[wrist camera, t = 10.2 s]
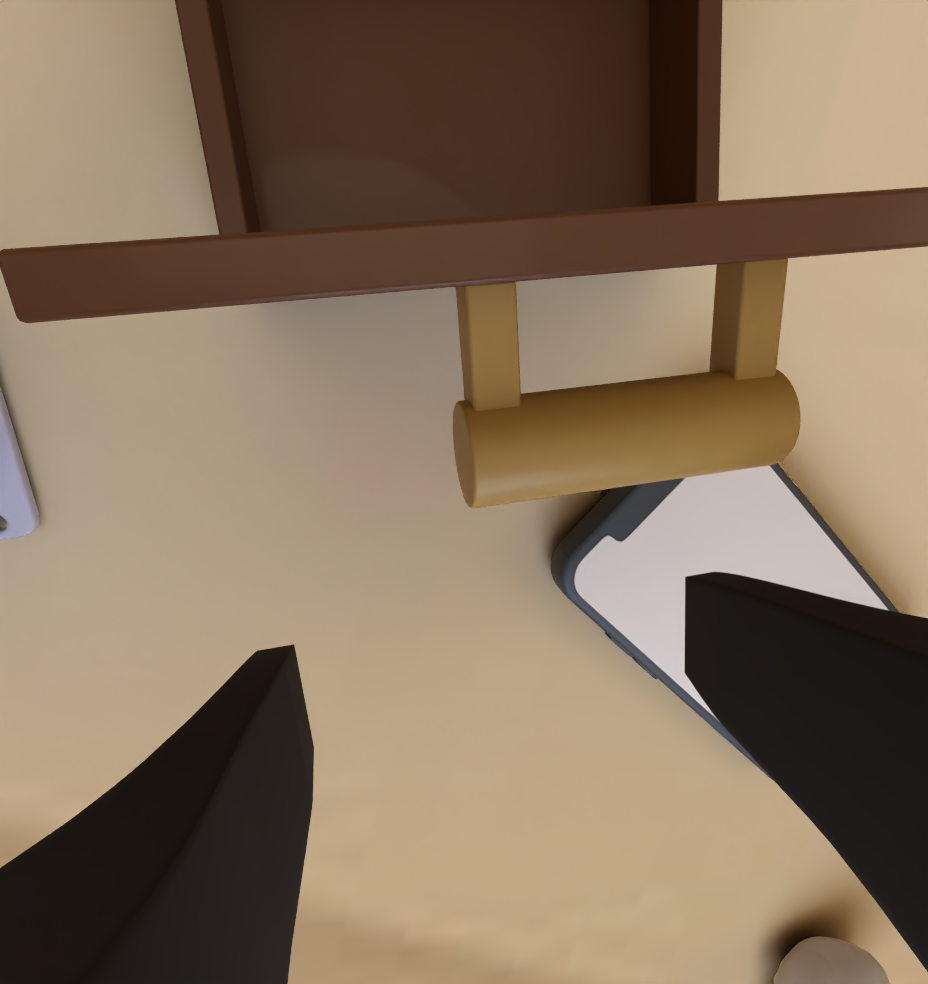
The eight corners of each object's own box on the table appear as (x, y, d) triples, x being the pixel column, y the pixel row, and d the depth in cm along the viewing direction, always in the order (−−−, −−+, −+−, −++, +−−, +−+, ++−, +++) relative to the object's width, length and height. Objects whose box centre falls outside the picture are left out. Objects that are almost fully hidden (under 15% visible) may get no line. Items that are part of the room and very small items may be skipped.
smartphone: (904, 633, 26) (699, 387, 21) (938, 652, 25) (727, 391, 19) (763, 772, 27) (530, 564, 21) (788, 799, 25) (544, 582, 20)
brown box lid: (-11, 249, 5) (119, 637, 6) (1242, 165, 7) (1137, 469, 8) (223, 273, 14) (254, 426, 15) (727, 234, 16) (717, 372, 17)
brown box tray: (182, -81, 15) (138, -191, 12) (658, -75, 17) (727, -168, 14) (251, 297, 18) (228, 287, 15) (660, 263, 20) (718, 247, 17)
